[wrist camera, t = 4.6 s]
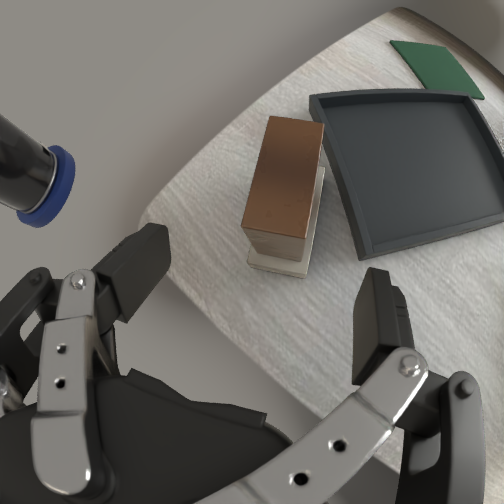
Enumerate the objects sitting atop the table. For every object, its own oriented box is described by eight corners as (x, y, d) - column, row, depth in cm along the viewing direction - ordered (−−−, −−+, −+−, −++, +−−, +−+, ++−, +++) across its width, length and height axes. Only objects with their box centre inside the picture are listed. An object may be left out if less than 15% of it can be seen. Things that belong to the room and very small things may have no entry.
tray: (358, 261, 19) (366, 255, 17) (308, 109, 22) (309, 94, 20) (515, 218, 17) (527, 211, 15) (461, 102, 21) (468, 92, 19)
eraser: (304, 278, 20) (314, 258, 12) (250, 267, 20) (225, 240, 12) (322, 178, 21) (335, 114, 13) (273, 170, 22) (263, 104, 14)
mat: (430, 95, 21) (431, 93, 21) (389, 42, 24) (389, 40, 23) (483, 99, 20) (485, 97, 20) (444, 48, 23) (445, 47, 22)
